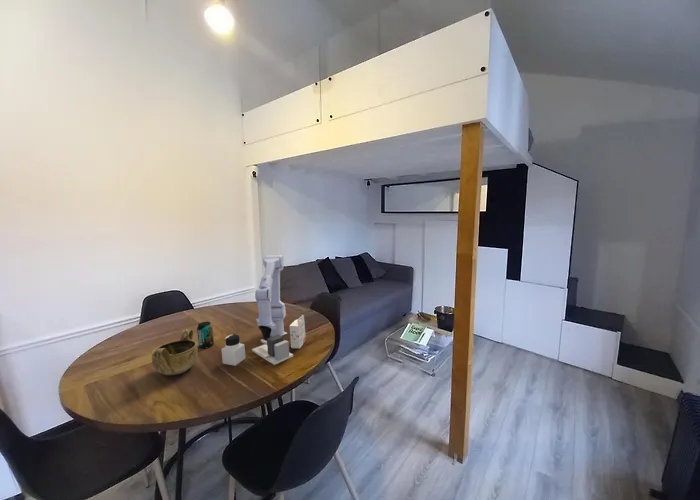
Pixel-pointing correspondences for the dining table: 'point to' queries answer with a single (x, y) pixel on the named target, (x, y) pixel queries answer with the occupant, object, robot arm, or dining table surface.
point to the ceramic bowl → (176, 355)
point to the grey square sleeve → (272, 342)
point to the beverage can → (205, 334)
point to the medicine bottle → (233, 350)
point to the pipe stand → (280, 352)
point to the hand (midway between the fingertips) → (266, 339)
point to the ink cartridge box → (297, 333)
